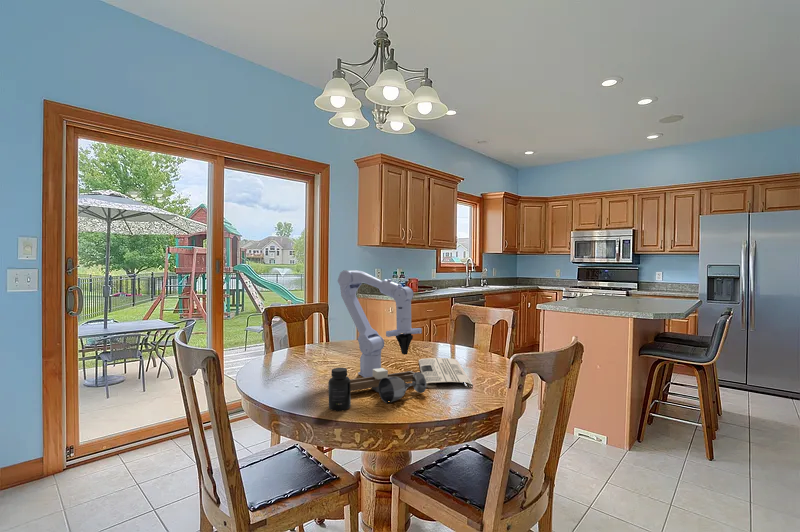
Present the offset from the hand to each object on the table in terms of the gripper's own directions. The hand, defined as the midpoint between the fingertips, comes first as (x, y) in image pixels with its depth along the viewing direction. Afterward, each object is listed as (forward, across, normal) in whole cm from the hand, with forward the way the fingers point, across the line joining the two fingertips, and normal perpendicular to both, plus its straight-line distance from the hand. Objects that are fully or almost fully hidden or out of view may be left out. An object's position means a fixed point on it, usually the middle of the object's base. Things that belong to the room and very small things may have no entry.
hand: (404, 353), depth 154 cm
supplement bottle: (+11, -31, -16) cm, 37 cm away
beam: (+10, -12, -4) cm, 17 cm away
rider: (+7, -12, -5) cm, 15 cm away
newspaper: (+11, +19, +2) cm, 22 cm away
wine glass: (+7, -2, -14) cm, 16 cm away
